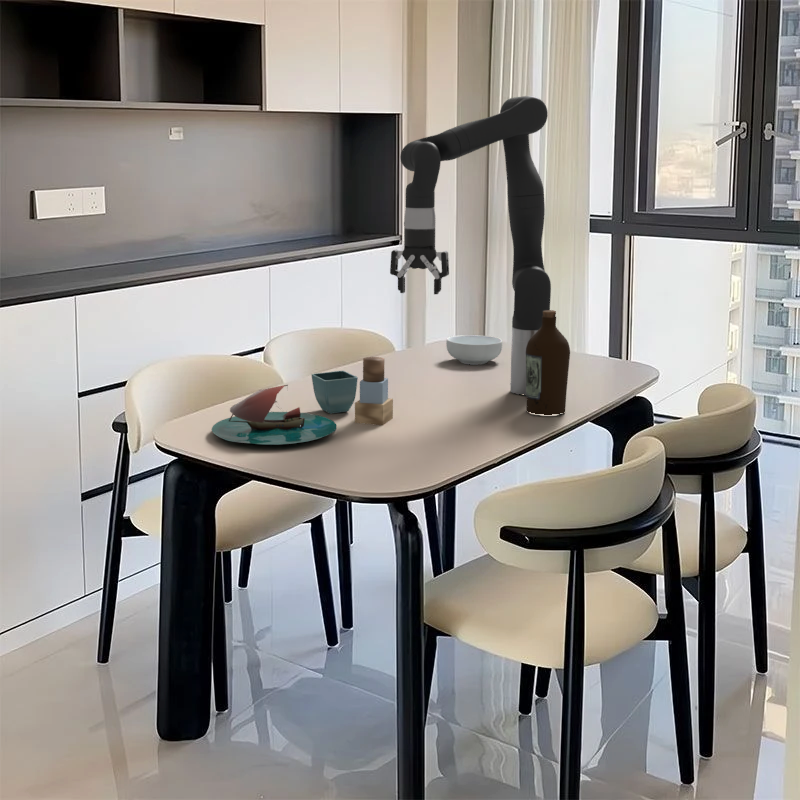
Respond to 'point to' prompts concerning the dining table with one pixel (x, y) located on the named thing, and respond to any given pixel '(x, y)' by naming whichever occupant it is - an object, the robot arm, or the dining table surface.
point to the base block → (374, 412)
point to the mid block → (374, 392)
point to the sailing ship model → (270, 422)
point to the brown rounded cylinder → (373, 369)
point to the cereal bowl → (474, 348)
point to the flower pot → (335, 390)
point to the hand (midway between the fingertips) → (419, 293)
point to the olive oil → (547, 368)
